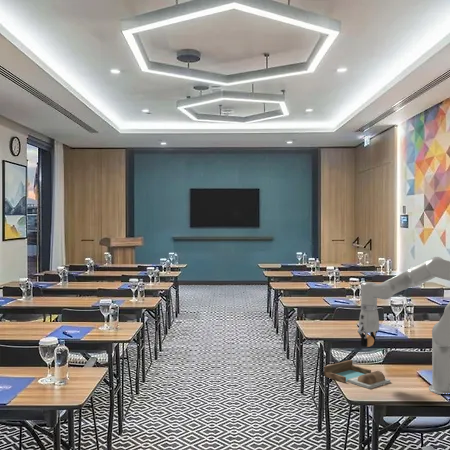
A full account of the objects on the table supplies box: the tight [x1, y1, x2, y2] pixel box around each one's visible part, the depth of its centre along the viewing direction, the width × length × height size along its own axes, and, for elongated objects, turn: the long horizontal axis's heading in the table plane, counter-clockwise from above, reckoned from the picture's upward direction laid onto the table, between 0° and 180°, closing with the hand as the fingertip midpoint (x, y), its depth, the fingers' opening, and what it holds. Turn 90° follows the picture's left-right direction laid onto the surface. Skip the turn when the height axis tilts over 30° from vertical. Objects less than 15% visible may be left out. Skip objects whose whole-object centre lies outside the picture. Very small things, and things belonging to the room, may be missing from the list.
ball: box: [366, 334, 374, 348], centre depth 245 cm, size 6×6×6 cm
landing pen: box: [323, 359, 372, 383], centre depth 255 cm, size 13×20×5 cm, turn 126°
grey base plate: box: [347, 376, 391, 390], centre depth 244 cm, size 13×16×1 cm
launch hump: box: [357, 370, 386, 385], centre depth 243 cm, size 7×12×7 cm, turn 126°
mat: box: [337, 370, 364, 383], centre depth 255 cm, size 11×18×1 cm, turn 126°
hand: (368, 344), depth 245 cm, fingers closed on ball, 5 cm apart
